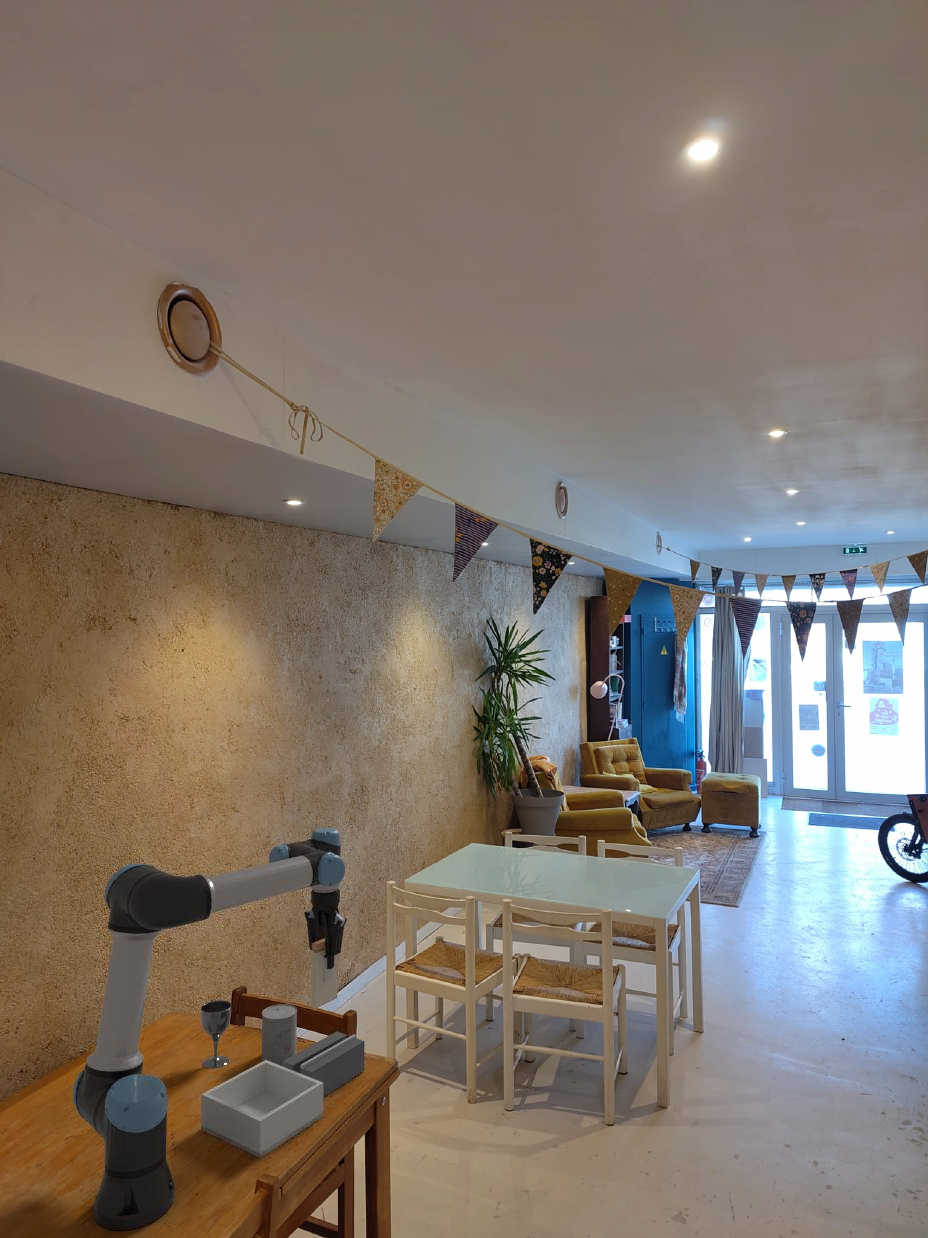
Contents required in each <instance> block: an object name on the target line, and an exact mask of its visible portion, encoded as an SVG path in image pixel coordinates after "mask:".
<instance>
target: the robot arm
mask: <svg viewBox="0 0 928 1238" xmlns="http://www.w3.org/2000/svg"><path fill="white" fill-rule="evenodd" d="M340 833H341V832H340V831H339V830H338V829H336V828H333V827H318V828H316V829H313V830H312V832H311V836H310V838H309V839H305V840H301V841H296V842H290V843H282V844H280V845H277V846H274V847H272V849H271V850H270V852H269V855H268V863H264V864H261V865H255V866H251V867H247V868H243V869H238V870H235V871H234V870H233V871H230V872H225V873H222V874H217V875H211V876H208V877H206V876H205V875H203V874H196V875H191V876H179V875H173V874H170V873H168V872H165V871H163V870H161V869H158V868H156V867H155V866H154V865H151V864H144V863H142V862H141V863H139V862H137V863H130V864H128V865H125V866H122V867H121V868H119V869H118V870H117V871H116V872H114V873H113V875H112V876H111V877H110V878H109V879H108V882H107V883H106V884H107V885H106V886H105V890H104V900H105V903H106V906H107V908H108V909H109V916H108V922H107V930H108V931H109V933H110V934H111V935H112V944H111V950H110V956H109V957H110V959H109V962H108V969H107V976H106V982H105V989H104V996H103V1002H102V1009H101V1014H100V1021H99V1027H98V1033H97V1040H96V1045H95V1046H96V1047H95V1050H94V1051H93V1052H91V1054H89V1055H88V1056H87V1058H86V1061H85V1066H84V1068H83V1070H82V1071H80V1072H79V1073H78V1075H77V1076H76V1079H75V1081H74V1084H73V1087H72V1088H73V1089H72V1100H73V1104H74V1107H75V1109H76V1111H77V1112H78V1114H79V1116H80V1117H81V1118H82V1119H83V1120H84V1121H85V1122H86V1123H88V1124H89V1126H90V1127H92V1129H93V1130H94V1131H95V1132H96V1133H97V1134H98V1135H99V1136H100V1137H101V1138H102V1139H103V1140H104V1172H103V1176H102V1179H101V1181H100V1185H99V1189H98V1192H97V1194H96V1196H95V1199H94V1209H93V1211H94V1212H93V1213H94V1214H93V1215H94V1217H93V1218H94V1220H95V1221H96V1223H97V1224H98V1225H99V1226H100V1227H102V1228H105V1229H107V1230H112V1231H127V1230H129V1231H130V1230H133V1229H137V1228H141V1227H144V1226H147V1225H149V1224H152V1223H154V1222H155V1221H156V1220H158V1219H159V1218H161V1217H163V1216H164V1215H165V1214H166V1213H167V1212H168V1211H169V1210H170V1209H171V1207H172V1206H173V1204H174V1201H175V1191H176V1190H175V1189H176V1188H175V1182H174V1178H173V1176H172V1173H171V1169H170V1167H169V1164H168V1161H167V1136H168V1135H167V1134H168V1131H167V1129H168V1128H167V1127H168V1126H167V1125H168V1123H167V1122H168V1106H169V1101H168V1100H169V1099H168V1093H167V1088H166V1085H165V1083H164V1082H163V1081H162V1080H161V1079H160V1078H158V1077H157V1076H155V1075H152V1074H149V1075H146V1074H145V1073H142V1072H143V1067H144V1058H145V1057H144V1055H143V1054H142V1052H141V1051H140V1050H139V1044H140V1036H141V1030H142V1024H143V1017H144V1012H145V1011H144V1009H145V1006H146V1005H145V1004H146V997H147V992H148V991H147V990H148V984H149V977H150V971H151V963H152V958H153V951H154V944H155V938H156V937H157V936H158V935H159V934H161V933H162V932H163V931H164V930H168V929H174V928H175V929H176V928H179V927H183V926H186V925H191V924H195V923H197V922H201V921H205V920H208V919H209V918H210V917H211V915H212V913H216V912H219V911H224V910H228V909H231V908H235V907H239V906H242V905H246V904H250V903H254V902H259V901H262V900H265V899H269V898H273V897H276V896H280V895H284V894H287V893H292V892H294V891H295V892H296V891H298V890H299V891H300V890H302V889H306V888H311V889H312V890H311V891H310V904H311V905H312V907H311V909H310V910H309V909H308V910H306V911H305V912H304V918H305V921H306V928H307V936H308V945H309V946H308V947H309V950H310V951H312V952H314V951H315V950H312V943H314V942H317V941H319V940H322V939H324V938H325V948H326V955H324V957H323V982H324V983H326V982H328V981H330V980H332V971H333V968H334V956H335V955H337V954H338V955H339V954H341V952H342V946H343V945H342V944H343V936H344V930H345V925H346V923H347V921H348V919H347V918H346V916H345V917H342V916H341V914H340V911H339V905H340V902H341V889H339V888H340V887H341V882H342V881H343V878H345V874H346V864H345V861H344V859H343V858H342V857H341V847H342V844H341V834H340Z"/></svg>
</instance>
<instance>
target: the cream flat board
mask: <svg viewBox="0 0 928 1238" xmlns="http://www.w3.org/2000/svg"><path fill="white" fill-rule="evenodd" d="M313 950H315V951H313ZM324 955H326V948H325V938H324V939H322V940H319V941H317V942H314V943H312V950H311V1008H312V1009H319V1008H320V1007H323V1006H325V1005H326V1004H328V1003H330V1002H332V1001H335V1000H337V999H338V963H339V962H338V961H339V960H338V958H339V957H338V955H339V954H337V955H335V956H334V968H333V971H332V980H330V981H328V982H326V983H324V982H323V957H324Z"/></svg>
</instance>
